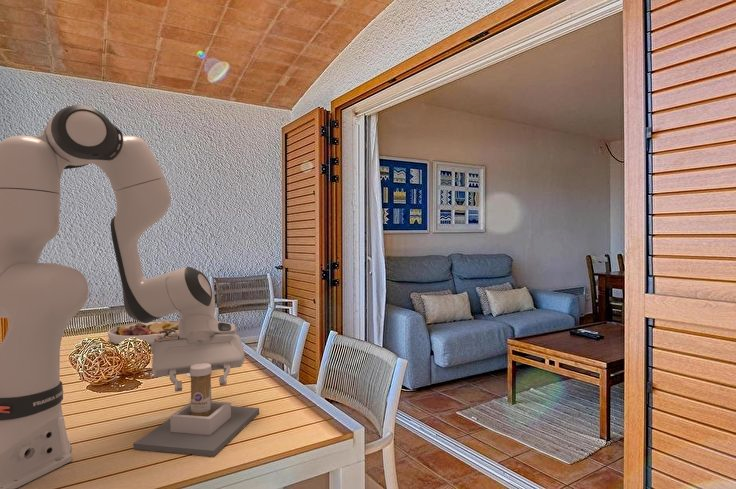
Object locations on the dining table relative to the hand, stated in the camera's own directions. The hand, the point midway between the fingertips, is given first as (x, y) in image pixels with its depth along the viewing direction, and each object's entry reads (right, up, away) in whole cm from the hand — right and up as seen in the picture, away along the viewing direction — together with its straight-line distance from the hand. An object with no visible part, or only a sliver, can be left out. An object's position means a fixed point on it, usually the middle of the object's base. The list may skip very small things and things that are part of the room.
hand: (201, 387), depth 103 cm
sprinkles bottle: (0, -9, +1) cm, 9 cm away
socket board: (0, -10, +1) cm, 10 cm away
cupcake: (-34, -8, +60) cm, 69 cm away
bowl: (-54, -8, +88) cm, 103 cm away
